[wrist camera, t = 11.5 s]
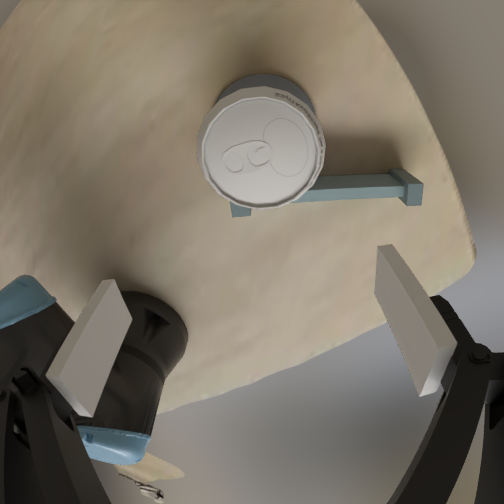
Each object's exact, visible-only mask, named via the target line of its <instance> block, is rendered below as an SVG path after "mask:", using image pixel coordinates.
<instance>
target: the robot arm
mask: <svg viewBox="0 0 504 504" xmlns="http://www.w3.org/2000/svg"><path fill="white" fill-rule="evenodd" d="M374 293H375V295H376V298H377V300H378V302H379V304H380V306H381V308H382V310H383V312H384V315H385V317H386V319H387V321H388V323H389V325H390V328H391V330H392V332H393V334H394V336H395V339H396V341H397V343H398V346H399V348H400V350H401V353H402V355H403V358H404V360H405V362H406V364H407V367H408V370H409V372H410V375H411V377H412V380H413V382H414V384H415V387H416V390H417V392H418V395H419V397H420V396H423V395H427V394H430V393H434V392H436V391H437V389H438V387H439V385H440V383H441V384H442V386H443V389H444V392H443V394H442V396H441V398H440V400H439V402H438V403H437V405H438V407H437V409H436V411H435V414H434V416H433V418H432V421H431V423H430V425H429V427H428V430H427V432H426V434H425V436H424V438H423V440H422V442H421V444H420V446H419V449H418V450H417V452H416V454H415V456H414V458H413V460H412V462H411V464H410V466H409V467H408V469H407V471H406V473H405V475H404V477H403V478H402V480H401V482H400V484H399V485H398V487H397V488H396V490H395V492H394V493H393V495H392V497H391V498H390V500H389V501H388V503H387V504H446V502H447V500H448V498H449V496H450V494H451V492H452V490H453V488H454V486H455V483H456V481H457V479H458V477H459V474H460V472H461V469H462V467H463V465H464V462H465V459H466V457H467V454H468V452H469V449H470V446H471V443H472V440H473V438H474V435H475V432H476V428H477V425H478V422H479V418H480V415H481V412H482V408H483V405H484V404H485V422H484V423H485V424H484V438H483V450H482V460H481V467H480V474H479V481H478V487H477V492H476V498H475V503H474V504H504V352H503V353H492V352H491V351H490V349H488V348H487V347H486V346H484V345H482V344H479V343H475V342H474V340H473V338H472V337H471V335H470V334H469V332H468V331H467V329H466V327H465V326H464V324H463V323H462V321H461V320H460V319H459V317H458V315H457V314H456V312H454V309H453V308H452V306H451V305H450V304H449V302H448V301H447V300H445V299H444V298H442V297H441V296H440V295H437V296H432V297H429V296H428V295H427V293H426V292H425V290H424V289H423V287H422V286H421V284H420V283H419V281H418V280H417V278H416V277H415V276H414V274H413V273H412V271H411V270H410V268H409V267H408V266H407V264H406V263H405V261H404V260H403V258H402V257H401V256H400V254H399V253H398V252H397V250H396V249H395V248H394V246H393V245H392V244H390V245H383V246H377V264H376V278H375V290H374ZM56 300H57V299H56V298H55V297H53V296H51V295H50V294H49V293H48V292H47V291H46V290H45V288H44V287H43V286H42V285H41V284H40V283H39V282H38V281H37V280H36V279H35V278H34V277H32V276H30V275H22V276H19V277H18V278H16V279H15V280H13V281H12V282H11V283H9V284H8V285H7V286H6V287H4V288H3V289H2V290H1V291H0V504H111V502H110V500H109V498H108V496H107V494H106V492H105V490H104V488H103V486H102V484H101V482H100V480H99V478H98V476H97V474H96V472H95V469H94V467H93V465H92V463H91V460H90V458H93V459H96V460H100V461H103V462H108V463H113V464H120V465H131V464H135V463H138V462H139V461H141V460H142V458H143V457H144V454H145V451H146V448H147V445H148V442H149V441H150V440H151V433H152V429H153V425H154V421H155V417H156V413H157V409H158V405H159V401H160V397H161V393H162V389H163V385H164V382H165V379H166V377H167V376H168V375H169V374H170V372H171V371H172V370H173V368H174V367H175V366H176V364H177V363H178V362H179V361H180V360H181V358H182V357H183V355H184V353H185V349H186V345H187V342H188V333H187V329H186V326H185V324H184V322H183V321H182V319H181V318H180V317H179V315H178V314H177V313H176V312H175V311H174V310H173V309H172V308H170V307H169V306H168V305H166V304H165V303H163V302H162V301H160V300H158V299H156V298H154V297H152V296H149V295H146V294H143V293H138V292H120V291H119V289H118V287H117V284H116V282H115V280H114V279H109V280H102V282H101V283H100V285H99V286H98V288H97V289H96V291H95V292H94V294H93V295H92V297H91V298H90V300H89V302H88V303H87V305H86V306H85V308H84V309H83V311H82V313H81V314H80V316H79V317H78V319H77V321H76V322H74V321H73V320H72V319H71V318H70V317H69V316H68V314H67V313H66V312H65V311H64V310H63V309H62V308H61V307H60V306H59V304H58V303H57V302H56ZM13 426H15V427H16V428H17V430H18V431H17V433H15V432H14V429H13V428H14V427H13ZM89 457H90V458H89Z"/></svg>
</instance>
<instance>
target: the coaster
mask: <svg viewBox="0 0 504 504" xmlns="http://www.w3.org/2000/svg"><path fill="white" fill-rule="evenodd" d="M261 86H267V87H271V88H275V89H279V90H283V91H287V92H289V93H291V94H292V95H294V96H295V97H297V98H298V99H300V100H301V101H302V102H304V103H305V104H307V105H308V107H309V108H310V109H311V111H312V112H313V114H314V115H315V111H314V108H313V106H312V103H311V101H310V100H309V98H308V96H307V95H306V94H305V93H304V91H303V90H302V89H301V88H299V87H298V86H297V85H296V84H294V83H293V82H291V81H289V80H288V79H286V78H283V77H280V76H276V75H272V74H256V75H250V76H247V77H244V78H242V79H239V80H237V81H236V82H234V83H233V84H231V85H230V86H229V87H228V88H227V89H226V90H225V91H224V92H223V93H222V94H221V96H220V97H219V98H218V100H217V102H218V101H219V100H220V99H222V98H224V97H226V96H228V95H230V94H232V93H234V92H236V91H238V90H240V89H244V88H252V87H261ZM217 102H216V104H217ZM216 104H215V105H216ZM315 116H316V115H315Z"/></svg>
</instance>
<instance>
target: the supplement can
mask: <svg viewBox="0 0 504 504" xmlns="http://www.w3.org/2000/svg"><path fill="white" fill-rule="evenodd" d="M325 147H326V144H325V139H324V135H323V132H322V128H321V124H320V122H319V121H318V119H317V118H316V116H315V115H314V114H313V112H312V111H311V109H310V108H309V107H308V105H307V104H305V103H304V102H302V101H301V100H300V99H298V98H297V97H295V96H294V95H292V94H291V93H289V92H287V91H283V90H279V89H275V88H271V87H267V86H261V87H252V88H244V89H240V90H238V91H236V92H234V93H232V94H230V95H228V96H226V97H224V98H222V99H220V100H219V101H218V102H217V104H216V105H215V106H214V107H213V108H212V109H211V110H210V111H209V112H208V113H207V115H206V116H205V118H204V120H203V123H202V125H201V128H200V131H199V133H198V136H197V159H198V162H199V164H200V167H201V170H202V172H203V175H204V178H205V179H206V180H207V181H208V182H209V184H210V185H211V186H212V187H213V188H214V190H215V191H216V192H217V193H218V194H219V195H221V196H222V197H224V198H226V199H227V200H229V201H231V202H232V203H234V204H236V205H238V206H243V207H247V208H252V209H256V210H259V209H270V208H279V207H281V206H283V205H286V204H288V203H290V202H292V201H295V200H297V199H299V198H300V197H301V196H302V195H303V194H304V193H305V192H306V191H307V190H308V189H309V188H311V187H312V186H313V185H314V183H315V181H316V179H317V177H318V175H319V173H320V171H321V169H322V167H323V164H324V156H325Z"/></svg>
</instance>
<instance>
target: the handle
mask: <svg viewBox="0 0 504 504" xmlns="http://www.w3.org/2000/svg"><path fill="white" fill-rule="evenodd" d="M422 194H423V183H422V182H420V181H419V180H418V179H416V178H415V177H414V176H412V175H411V174H410V173H408V172H407V171H406V170H404V169H390V174H362V175H337V176H318V177H317V179H316V181H315V183H314V185H313V186H312V187H311V188H309V189H308V190H307V191H306V192H305V193H304V194H303V195H302V196H301V197H300V198H299V199H297V200H295V201H292V202H290V203H298V202H313V201H328V200H346V199H366V198H389V197H398V198H399V199H400V200H401V201H402V202H403V203H404V204H405V205H406V206H416V205H421V204H422ZM230 205H231V212H232V217H242V216H251V208H247V207H243V206H238V205H236V204H234V203H232V202H231V201H230Z"/></svg>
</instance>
